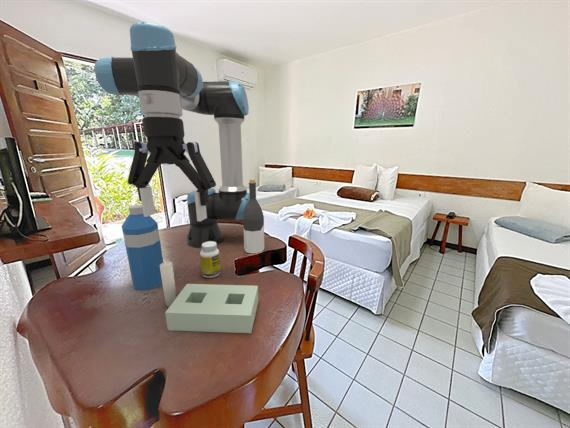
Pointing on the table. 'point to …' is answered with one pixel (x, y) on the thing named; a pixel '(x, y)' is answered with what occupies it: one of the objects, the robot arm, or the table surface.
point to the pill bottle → (210, 260)
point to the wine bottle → (253, 223)
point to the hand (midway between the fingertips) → (175, 217)
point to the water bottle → (143, 249)
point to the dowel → (168, 282)
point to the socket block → (213, 308)
